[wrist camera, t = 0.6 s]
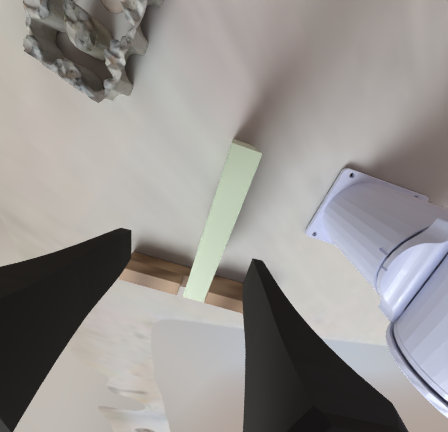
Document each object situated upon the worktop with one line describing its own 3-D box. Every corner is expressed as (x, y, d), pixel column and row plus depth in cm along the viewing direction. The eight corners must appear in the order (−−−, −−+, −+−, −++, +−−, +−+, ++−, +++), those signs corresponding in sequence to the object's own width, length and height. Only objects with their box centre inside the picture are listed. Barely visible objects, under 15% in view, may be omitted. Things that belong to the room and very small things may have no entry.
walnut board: (260, 288, 25) (263, 307, 22) (255, 298, 26) (257, 317, 23) (133, 251, 24) (120, 267, 21) (132, 262, 24) (119, 279, 22)
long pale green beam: (233, 138, 17) (231, 142, 11) (252, 145, 17) (262, 153, 11) (197, 251, 23) (182, 296, 17) (212, 255, 23) (203, 302, 17)
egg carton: (86, -115, 12) (15, -233, 8) (184, -18, 13) (164, -77, 9) (46, 56, 15) (-13, 31, 12) (125, 115, 17) (95, 110, 13)
